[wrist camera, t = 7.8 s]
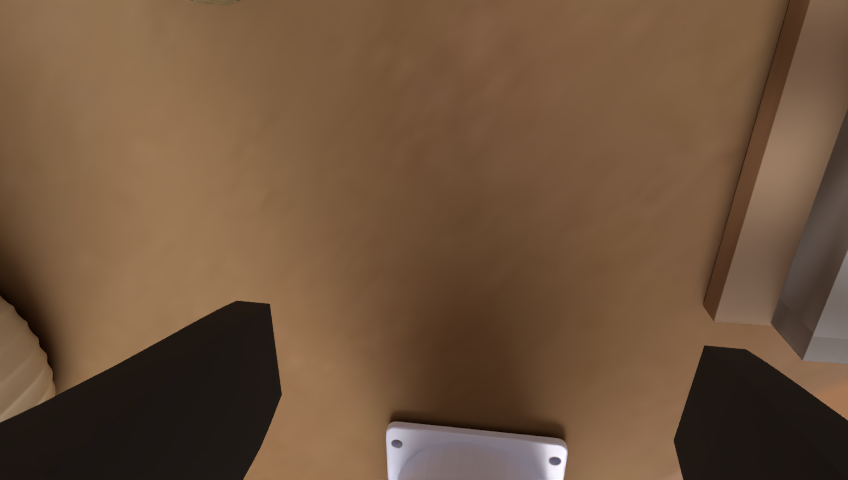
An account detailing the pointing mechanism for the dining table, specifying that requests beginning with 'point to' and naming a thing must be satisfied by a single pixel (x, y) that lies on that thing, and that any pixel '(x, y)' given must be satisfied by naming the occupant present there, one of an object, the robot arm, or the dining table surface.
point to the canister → (21, 366)
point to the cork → (217, 1)
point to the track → (794, 195)
